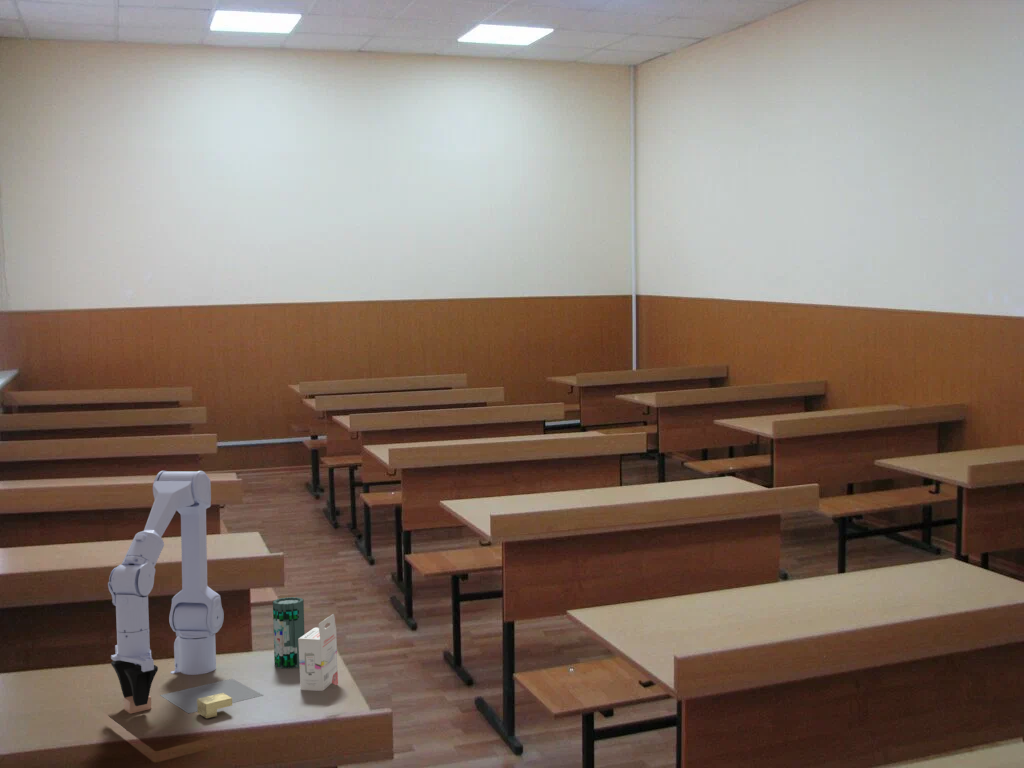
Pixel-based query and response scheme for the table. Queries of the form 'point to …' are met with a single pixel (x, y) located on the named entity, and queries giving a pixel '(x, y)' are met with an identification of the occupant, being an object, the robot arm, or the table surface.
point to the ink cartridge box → (318, 657)
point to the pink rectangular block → (131, 707)
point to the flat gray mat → (229, 687)
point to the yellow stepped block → (212, 704)
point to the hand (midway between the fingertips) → (135, 700)
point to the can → (287, 631)
